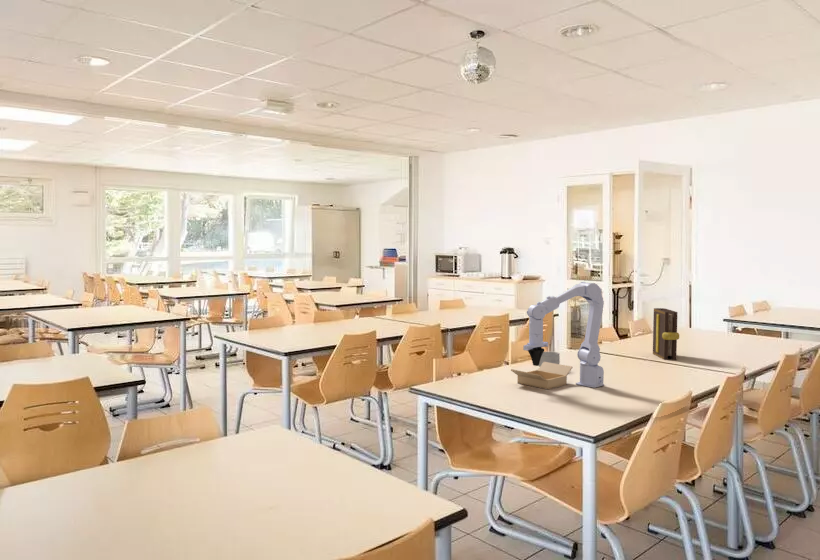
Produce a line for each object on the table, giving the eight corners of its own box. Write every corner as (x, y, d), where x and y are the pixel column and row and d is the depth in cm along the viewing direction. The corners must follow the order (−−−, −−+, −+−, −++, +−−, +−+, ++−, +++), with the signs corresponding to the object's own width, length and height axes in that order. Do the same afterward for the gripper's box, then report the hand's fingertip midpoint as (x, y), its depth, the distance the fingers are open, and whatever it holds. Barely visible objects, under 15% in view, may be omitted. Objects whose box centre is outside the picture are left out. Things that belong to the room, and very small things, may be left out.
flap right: (566, 375, 271) (566, 376, 271) (572, 366, 274) (572, 367, 274) (537, 370, 283) (537, 370, 283) (543, 361, 285) (544, 362, 286)
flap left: (517, 374, 273) (517, 375, 273) (511, 369, 270) (510, 370, 270) (546, 380, 262) (546, 381, 262) (540, 374, 259) (539, 375, 259)
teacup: (553, 372, 297) (553, 355, 297) (532, 369, 304) (532, 353, 303) (565, 367, 308) (566, 351, 308) (545, 365, 315) (545, 349, 314)
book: (649, 353, 348) (650, 308, 347) (665, 353, 348) (666, 308, 346) (664, 360, 326) (665, 312, 325) (680, 360, 326) (681, 312, 324)
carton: (566, 384, 271) (566, 375, 271) (547, 389, 262) (547, 380, 262) (536, 378, 283) (536, 369, 283) (517, 383, 274) (517, 374, 274)
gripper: (538, 330, 273) (538, 361, 274) (517, 334, 263) (517, 366, 264) (552, 332, 267) (552, 364, 268) (531, 336, 258) (531, 368, 259)
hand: (535, 365), depth 266 cm, fingers closed
